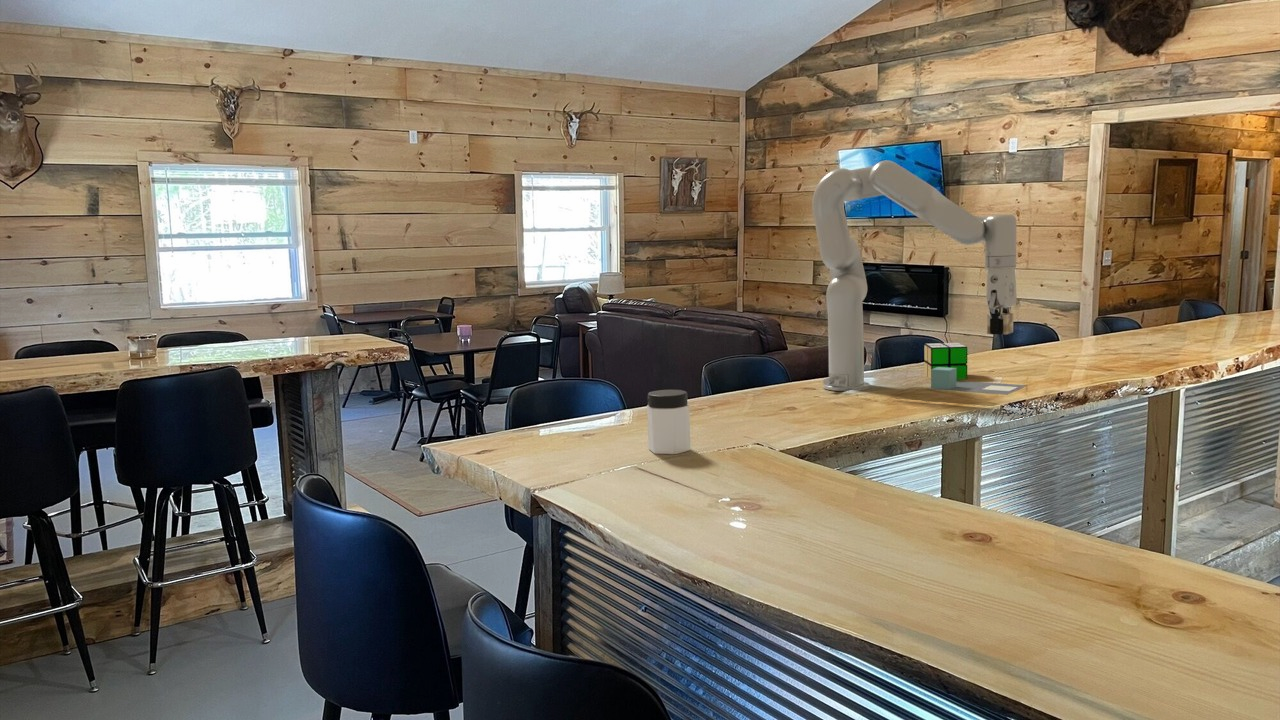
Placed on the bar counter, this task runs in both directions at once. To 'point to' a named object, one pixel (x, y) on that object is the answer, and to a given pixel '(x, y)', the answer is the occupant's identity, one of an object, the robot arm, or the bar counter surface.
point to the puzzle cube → (946, 358)
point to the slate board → (984, 387)
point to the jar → (668, 422)
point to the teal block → (943, 378)
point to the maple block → (1006, 323)
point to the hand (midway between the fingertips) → (1000, 332)
